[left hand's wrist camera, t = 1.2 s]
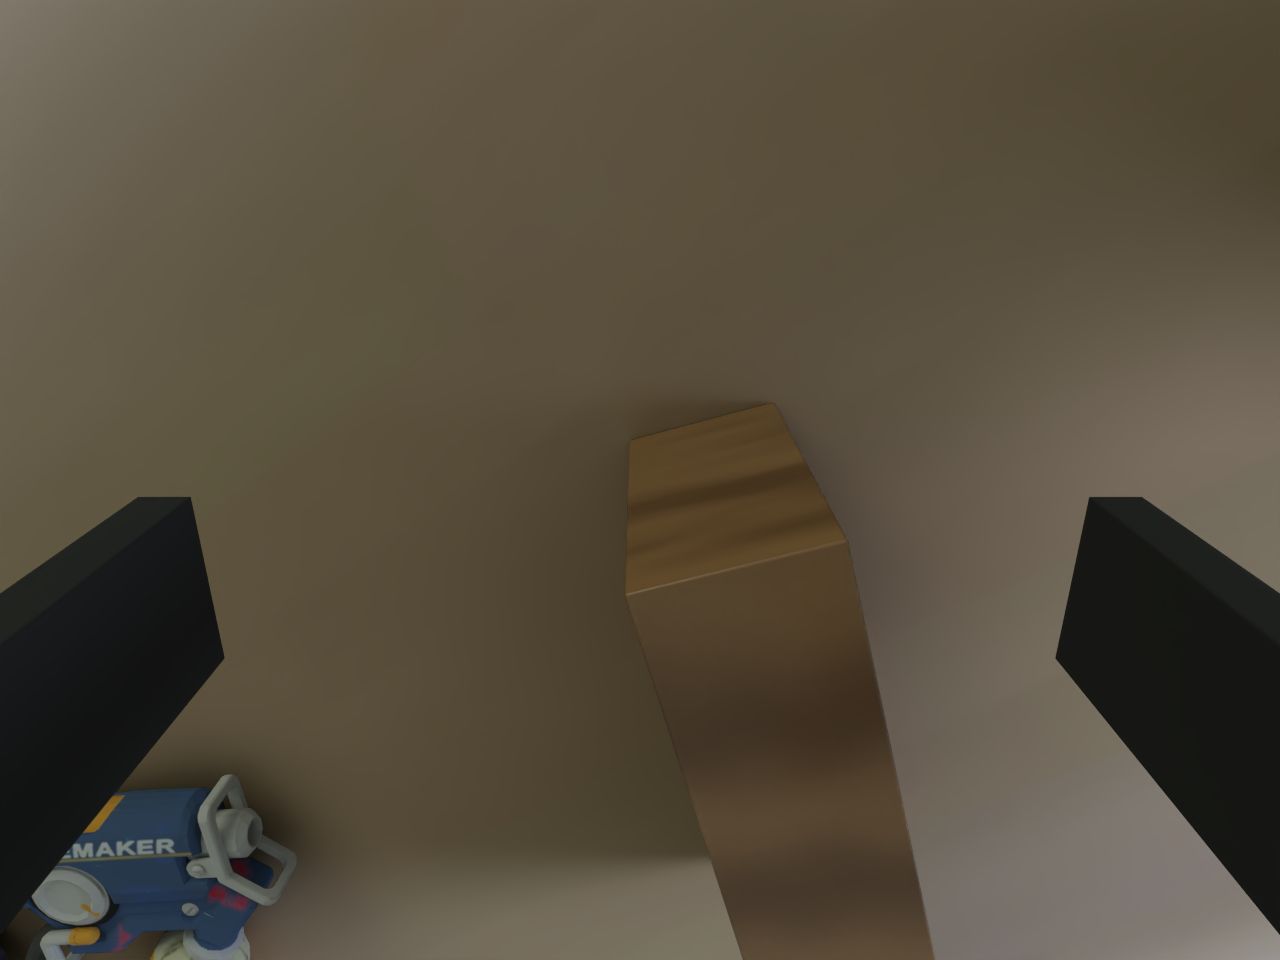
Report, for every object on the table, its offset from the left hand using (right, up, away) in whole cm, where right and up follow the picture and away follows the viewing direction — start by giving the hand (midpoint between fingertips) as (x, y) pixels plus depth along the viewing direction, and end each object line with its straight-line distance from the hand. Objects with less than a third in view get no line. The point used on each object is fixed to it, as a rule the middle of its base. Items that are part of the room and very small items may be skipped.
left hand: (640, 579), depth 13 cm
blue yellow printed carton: (-26, -19, +29) cm, 43 cm away
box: (+5, -6, +24) cm, 25 cm away
